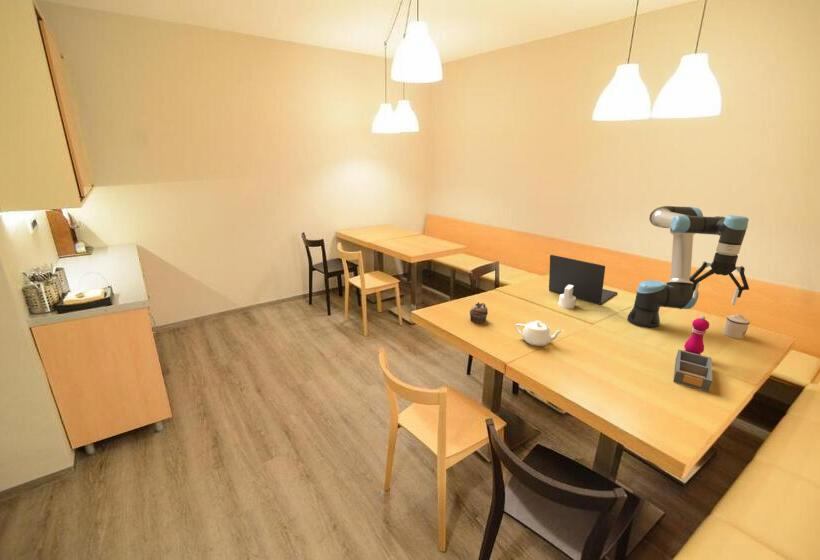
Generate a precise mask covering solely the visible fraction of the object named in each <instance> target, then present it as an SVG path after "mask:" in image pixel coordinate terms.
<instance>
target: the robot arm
mask: <svg viewBox="0 0 820 560" xmlns="http://www.w3.org/2000/svg"><path fill="white" fill-rule="evenodd" d="M648 218H649V222H650V223H651V225H653V226H654V227H657V228H661V229H662V228H663V229H669V232H670V234H671V235H672V247H671V248H672V250H671V251H672V252H671V265H670V278H669V280H668V281H666V283H665V282H663V281H660V280H656V279H655V280H654V279H653V280H652V279H651V280H650V279H649V280H644V281H640V282H639V284H638V287H637V289H636V296H635V301H634V304H633V308H632V309H631V311H630V312H629V313H628V314H627V318H626V319H627V322H628V323H629V324H631V325H634V326H637V327H639V328H645V329H658V328H659V327H660V324H661V319H660V314H659V313H660V308H670V309H678V310H691V309H692V308H693V307H695V305H696V303H698V299H699V294H700V293H699V286H700V282H702V281H703V280H704V279H707V278H708V277H710V276H712V275H714V274H715V275H717V276H718V275H720V276H729V278H730V279H731V280H732V281H733V283H734V284H735V286H736V287H737V288H735V290H734V293H733V297H732V299H731V305H733V306H735V305H736V302H737V298H741V296H742V292H743V291H745V290H746V291H748V290H750V287H749V284H748V280H747V278H746V275H745V267H744V266H743V265H741V266H736V265H737V262H738V261H737V260H738V258H739V254H740V252H741V248H742V244H743V241H744V238H745V236H746V232H747V229H748V226H749V225H748V224H749V221H750V220H749V217H746V216H743V215H733V214H732V215H727V216H720V215H719V216H718V215H717V216H704V214H703V212H702V210H701V209H700V208H699V207H693V206H676V205H675V206H672V205H664V206H663V205H662V206H659V207H656V208H655V209H653V210H652V211H651V212H650V214H649V217H648ZM696 234H700V235H713V236H715V235H716V236H719V239H718V242H717V246H716V249H715V250H716V252H714V256H713V259H712V261H711V263H710V262H707V261H703V262H702V264H701V266H700V267H699V268H698V269H697V270H696V271H695V272H694V273H693V274H692V259H693V246H694V244H693V243H694V235H696ZM709 267H710V268H711V269H709V270H708V271H707V272H705V273H703V271H704V270H706V268H709ZM736 270H737V272H738V273H739V276H740V280H741V282H742V285H743V286H742V285H741V284H740V283H739V281H738V279H737V277H735V275H734V274H733V272H735V271H736ZM701 273H703V274H702V275H701ZM691 274H692V275H691ZM699 275H700V276H699Z"/></svg>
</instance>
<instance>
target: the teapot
mask: <svg viewBox="0 0 820 560" xmlns="http://www.w3.org/2000/svg"><path fill="white" fill-rule="evenodd" d="M514 326H515V330H516V331H517V332H518V333H519V334H520V335H521V337H522V339H523V340H524V341H525V343H526V344H528V345H531V346H535V347H543V346H545V345H548V344H549V343H551V341H552V342H553V341H554V340H555V339H557V337H558V335H559V333H561V332H564V330H563V329H558V330H556V331H555V333H554V334H552V332H551V329H550V327H549V325H548V324H547V323H544V322H542V321H540V320H533V321H532V320H531V321H528V322H527V323H526V324H524V323H516V324H515V325H514ZM519 326H520V327H523V329H522V331H521V330H520V329H519Z"/></svg>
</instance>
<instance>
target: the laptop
mask: <svg viewBox="0 0 820 560" xmlns="http://www.w3.org/2000/svg"><path fill="white" fill-rule="evenodd" d="M605 273H606V265H602V264H598V263H594V262H588V261H583V260H578V259H574V258H570V257H565V256H560V255H556V254H550V255H549V274H548V275H549V276H548V277H549V279H548V290H549V292H553V293H556V294H559V295H560V294H564V290H565V288H566V287H567V286H568V285H573V286H574V287H573V293H572V295H573V296H575V297H576V299H579V300H582V301H584V302H585V301H586V302H589V303H592V302H593V303H592V304H596V305H599V306H600V305H602V304H605V302H607V301H608V300H610V299H611V298H613V297H615V296H616V295H617V294H618V292H617V291H613V290H610V289H605V288H604V281H605Z"/></svg>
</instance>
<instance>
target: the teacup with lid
mask: <svg viewBox="0 0 820 560" xmlns="http://www.w3.org/2000/svg"><path fill="white" fill-rule="evenodd" d="M750 324H751V322H750V320H749V319H747V318H745V317H744V316H743V314H741V313H737V314H735V315H733V314H732V315H727V316H726V319H725V324H724V326H723V330H722V333H723V335H724V336H725V337H728V338H732V339H736V340H738V339H739V340H742V339H744V338H745V337H746V334H747V330H748V328H749V325H750Z"/></svg>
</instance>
